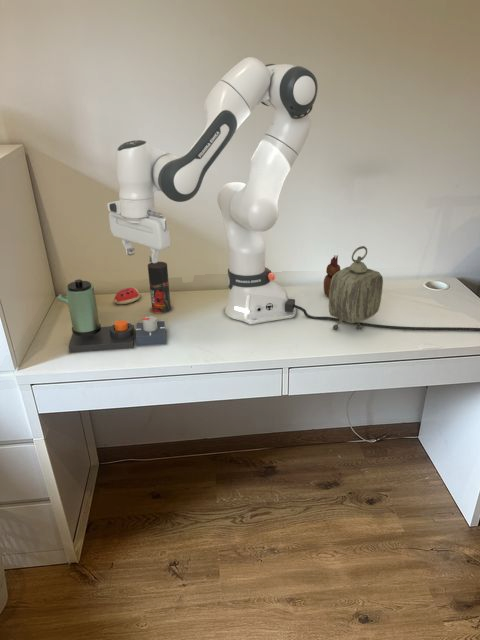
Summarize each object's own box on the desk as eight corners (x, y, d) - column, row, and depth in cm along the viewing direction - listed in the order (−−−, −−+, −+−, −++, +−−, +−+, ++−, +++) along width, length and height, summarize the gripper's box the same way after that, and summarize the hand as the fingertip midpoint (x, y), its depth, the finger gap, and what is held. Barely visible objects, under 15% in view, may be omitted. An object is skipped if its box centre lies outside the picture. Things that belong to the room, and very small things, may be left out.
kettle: (102, 319, 159) (95, 271, 151) (99, 335, 150) (91, 285, 143) (66, 321, 157) (57, 273, 150) (61, 338, 148) (51, 287, 141)
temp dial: (157, 325, 158) (156, 314, 156) (157, 331, 154) (156, 320, 153) (143, 325, 157) (142, 315, 155) (143, 332, 154) (141, 321, 152)
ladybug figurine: (145, 297, 182) (144, 287, 181) (123, 307, 175) (122, 297, 173) (130, 293, 186) (129, 283, 184) (109, 303, 178) (107, 293, 177)
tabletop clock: (356, 315, 171) (363, 238, 159) (380, 324, 166) (389, 245, 153) (326, 329, 162) (332, 249, 150) (350, 340, 157) (358, 257, 144)
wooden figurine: (341, 300, 182) (344, 257, 174) (323, 299, 182) (326, 256, 174) (338, 292, 188) (342, 250, 180) (322, 291, 188) (324, 250, 180)
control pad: (165, 330, 162) (164, 320, 160) (166, 344, 154) (165, 334, 152) (137, 332, 160) (136, 322, 159) (136, 346, 153) (135, 336, 151)
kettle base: (135, 330, 161) (133, 318, 159) (133, 348, 152) (132, 335, 150) (75, 334, 159) (72, 322, 157) (69, 353, 149) (67, 340, 147)
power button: (128, 325, 156) (127, 319, 155) (127, 331, 153) (127, 325, 152) (115, 326, 155) (114, 320, 155) (114, 332, 152) (113, 325, 151)
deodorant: (174, 307, 176) (170, 263, 168) (164, 314, 171) (159, 269, 164) (159, 304, 178) (154, 260, 171) (148, 311, 173) (143, 266, 166)
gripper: (174, 212, 138) (177, 264, 145) (121, 199, 149) (126, 248, 156) (156, 217, 134) (159, 270, 140) (103, 203, 145) (108, 253, 151)
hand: (142, 258), depth 148 cm, fingers open, 8 cm apart
